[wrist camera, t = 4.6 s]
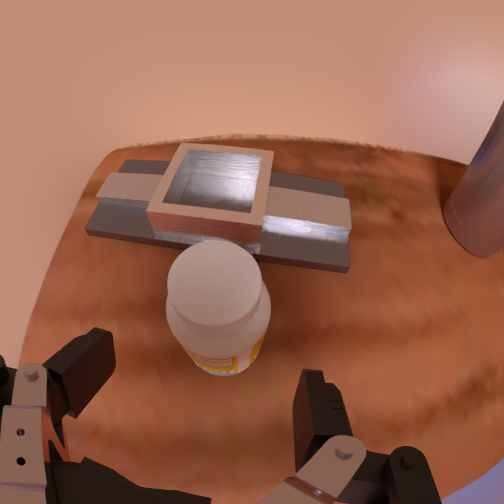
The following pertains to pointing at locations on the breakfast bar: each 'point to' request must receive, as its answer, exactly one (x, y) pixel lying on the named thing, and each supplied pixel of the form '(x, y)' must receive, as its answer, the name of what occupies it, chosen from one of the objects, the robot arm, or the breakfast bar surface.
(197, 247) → the supplement bottle
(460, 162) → the breakfast bar surface
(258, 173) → the rail collar
